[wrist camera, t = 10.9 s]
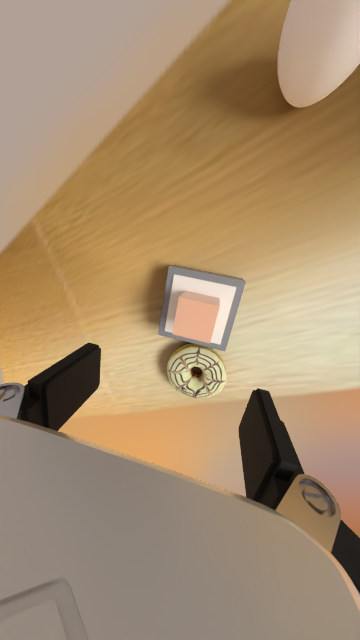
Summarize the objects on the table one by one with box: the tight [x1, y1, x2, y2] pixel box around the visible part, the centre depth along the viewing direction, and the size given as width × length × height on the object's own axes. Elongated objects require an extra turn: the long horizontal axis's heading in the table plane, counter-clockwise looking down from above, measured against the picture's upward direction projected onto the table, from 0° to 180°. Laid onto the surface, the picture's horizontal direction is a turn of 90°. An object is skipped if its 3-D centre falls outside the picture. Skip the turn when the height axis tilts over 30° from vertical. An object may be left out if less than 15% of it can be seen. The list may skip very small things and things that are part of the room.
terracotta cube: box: [172, 291, 220, 343], centre depth 25 cm, size 5×5×5 cm
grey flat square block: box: [158, 265, 246, 351], centre depth 30 cm, size 11×11×4 cm
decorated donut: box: [167, 343, 227, 398], centre depth 34 cm, size 10×11×4 cm
